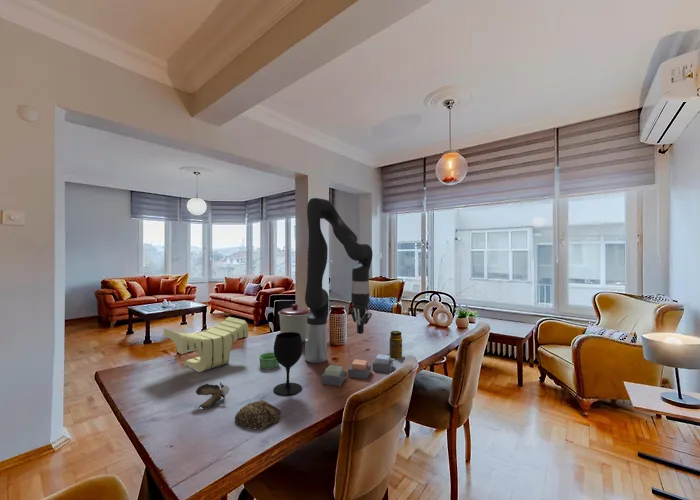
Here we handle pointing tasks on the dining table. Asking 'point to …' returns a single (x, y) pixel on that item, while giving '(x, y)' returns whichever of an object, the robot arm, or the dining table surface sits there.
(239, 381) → the dining table surface
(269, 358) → the ramekin
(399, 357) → the condiment
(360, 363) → the terracotta button
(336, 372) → the sage green button
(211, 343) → the slatted curved stool
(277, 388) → the wine glass
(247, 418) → the brown low domed lump
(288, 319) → the canister
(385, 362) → the dusty blue button
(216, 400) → the eagle figurine
